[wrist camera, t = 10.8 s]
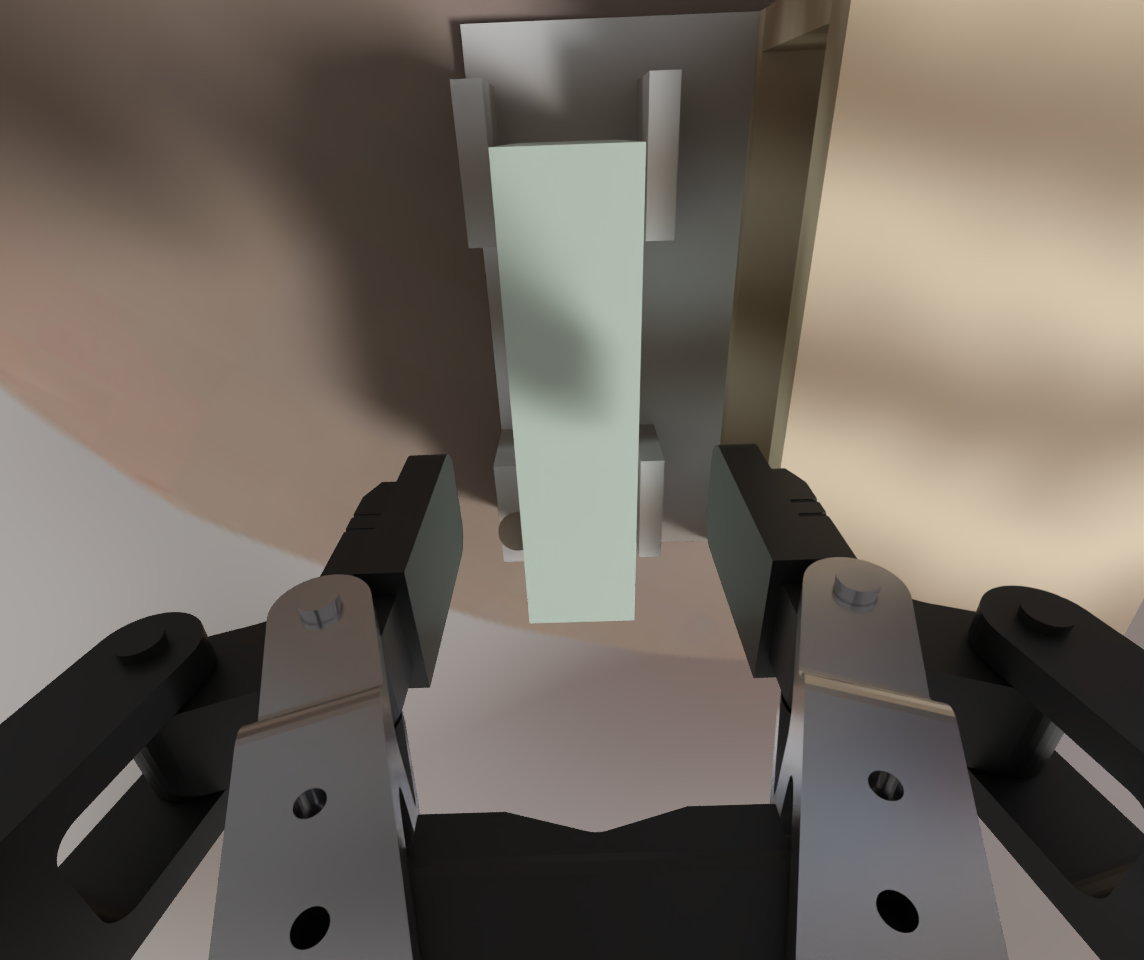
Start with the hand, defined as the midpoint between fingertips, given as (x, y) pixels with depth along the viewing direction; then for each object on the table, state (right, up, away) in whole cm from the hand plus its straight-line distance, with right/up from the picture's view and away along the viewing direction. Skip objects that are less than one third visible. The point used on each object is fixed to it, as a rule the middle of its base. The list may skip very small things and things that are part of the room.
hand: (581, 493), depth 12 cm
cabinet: (+7, +6, +10) cm, 14 cm away
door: (0, +5, +10) cm, 11 cm away
